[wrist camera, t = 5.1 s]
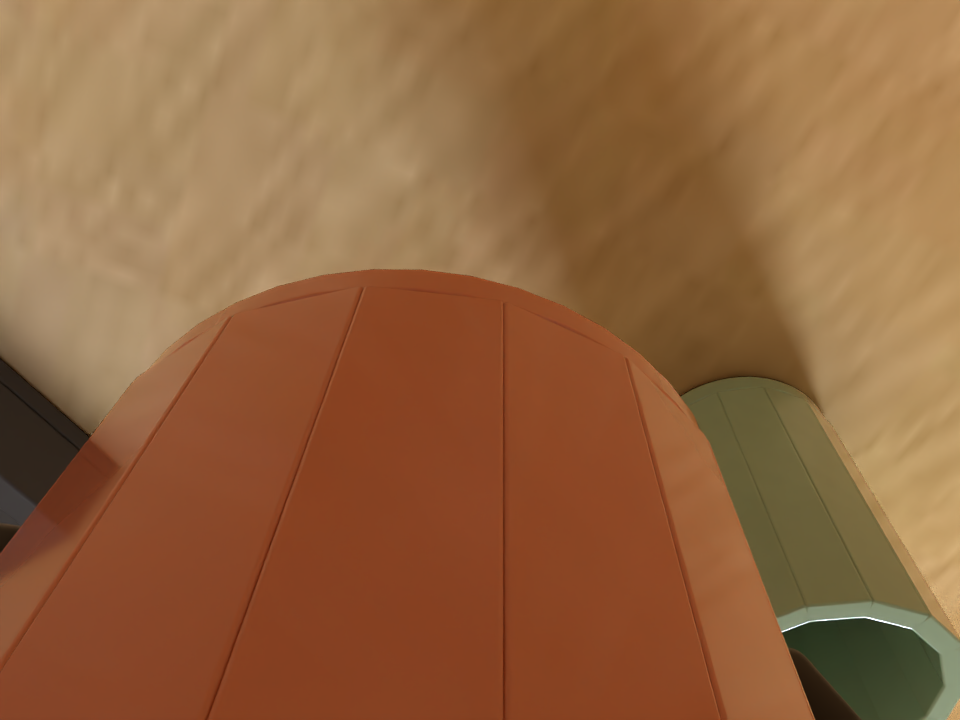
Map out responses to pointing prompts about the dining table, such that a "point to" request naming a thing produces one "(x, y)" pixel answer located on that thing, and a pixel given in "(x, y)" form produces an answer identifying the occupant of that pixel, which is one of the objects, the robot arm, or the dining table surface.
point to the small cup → (829, 553)
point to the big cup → (392, 528)
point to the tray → (30, 446)
